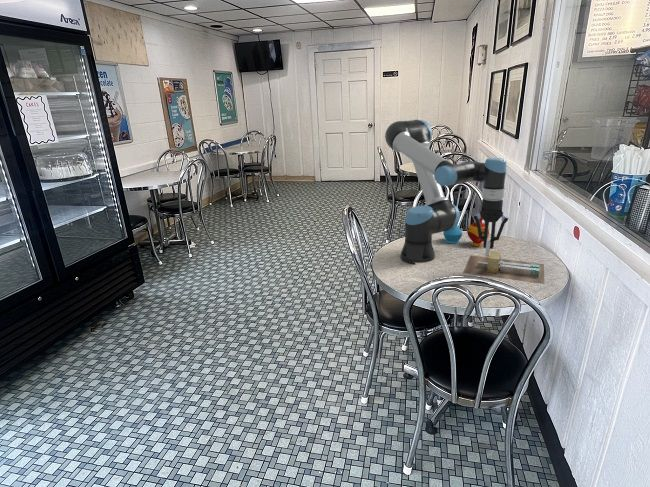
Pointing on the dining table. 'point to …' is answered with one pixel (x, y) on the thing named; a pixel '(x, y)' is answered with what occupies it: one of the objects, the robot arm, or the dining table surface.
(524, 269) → the tongs fixed arm
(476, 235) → the red yellow vase
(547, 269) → the dining table surface
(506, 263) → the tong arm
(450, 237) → the blue vase
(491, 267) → the translucent yellow block
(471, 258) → the walnut board
